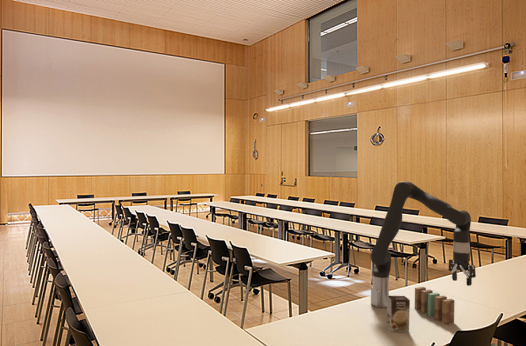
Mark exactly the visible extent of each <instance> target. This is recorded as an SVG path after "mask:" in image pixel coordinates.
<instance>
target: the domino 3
mask: <svg viewBox="0 0 526 346" xmlns="http://www.w3.org/2000/svg"><path fill="white" fill-rule="evenodd" d="M437 296H441V293H439V292H433V293H429V294H428V313H427V316H428V317H430V318H431V316H433V317H435V297H437Z"/></svg>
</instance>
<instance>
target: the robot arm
mask: <svg viewBox="0 0 526 346" xmlns="http://www.w3.org/2000/svg"><path fill="white" fill-rule="evenodd" d="M408 198H409V199H413V200H415V201H417V202H419V203H421V204H423V205H424V206H425V207H426V208H427V209H429V210H431V211H432V212H434V213H436V214H437V215H440V216H442V217H444V218H445V219H446V220H447V221H449V222H450V223H452V224H454V225H455V228H454V230H453V235H452V236H453V237H452V238H453V243H452V258H451V259H448V271H449V272H451V279H452V281H454V282H455V281H458V272H462V273H463V274H464V275H465V276H466V277H465V279H466V286H468V287H471V286H472V284H473V283H472V282H473V279H474V278H476V274H477V273H476V266H475V264H470V261H471V245H470V230H471V224H472V223H471V222H472V219H471V218H472V217H471V215H470V213H469V212H468V211H467V210H458V209H455V208H454V207H452V205H451V204H449V203H448V202H445V201H443V200H442V199H440V198H438V197H435V196H433V195H431V194H430V193H428V192H426V191H424V190H422V189H421V188H420V187H418V186H417V185H415V184H414V183H413V182H411V181H399V182H397V183H396V184H395V186H394V188H393V192H392V197H391V201H390V204H389V206H388V209H387V212H386V213H385V214H386V215H385V217H384V220H383V222H382V225H381V229H380V231H379V234H378V238H377V241H376V242H375V245H374V247H373V248H372V250H371V253H370V261H371V263H372V264H373V265H374V268H373V270H372V287H370V305H373V306H374V307H375V308H387V298H388V296H390V273H391V269H392V268H391V266H392V255H391V252H390V250H389V248H390V245H391V244H392V242H393V241H394V239H395V238H396V237H397V235H398V233H399V231H400V228H401V227H402V223H403V209H404V206H405V204H406V200H407V199H408Z"/></svg>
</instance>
